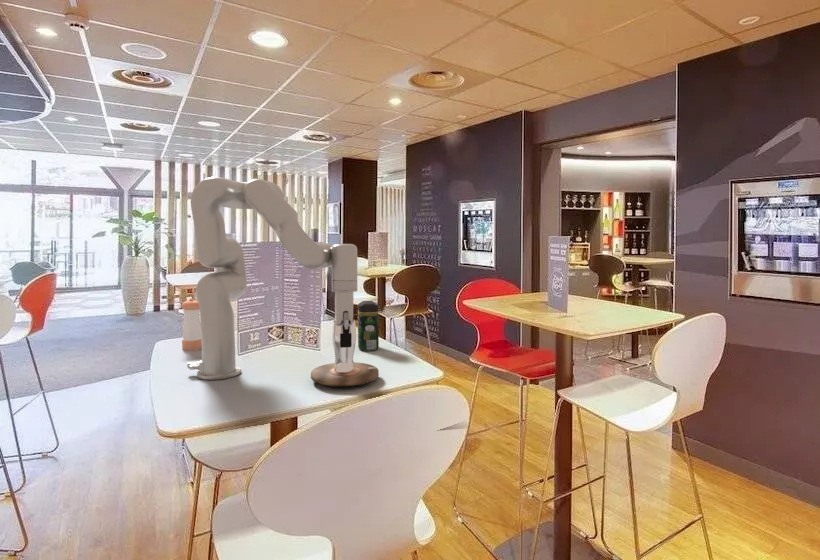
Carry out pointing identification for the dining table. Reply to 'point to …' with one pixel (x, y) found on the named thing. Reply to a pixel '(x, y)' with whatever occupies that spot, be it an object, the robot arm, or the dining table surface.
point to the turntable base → (344, 386)
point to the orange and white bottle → (191, 325)
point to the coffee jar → (368, 326)
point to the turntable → (344, 375)
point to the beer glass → (343, 350)
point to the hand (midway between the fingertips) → (344, 343)
